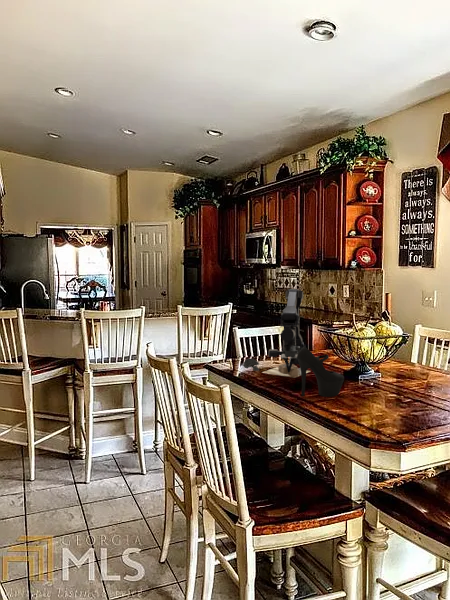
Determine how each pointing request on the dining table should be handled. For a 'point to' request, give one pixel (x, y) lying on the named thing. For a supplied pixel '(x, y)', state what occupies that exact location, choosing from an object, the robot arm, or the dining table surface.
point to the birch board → (276, 372)
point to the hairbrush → (251, 364)
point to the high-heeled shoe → (319, 373)
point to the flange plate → (284, 370)
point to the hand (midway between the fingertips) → (288, 372)
